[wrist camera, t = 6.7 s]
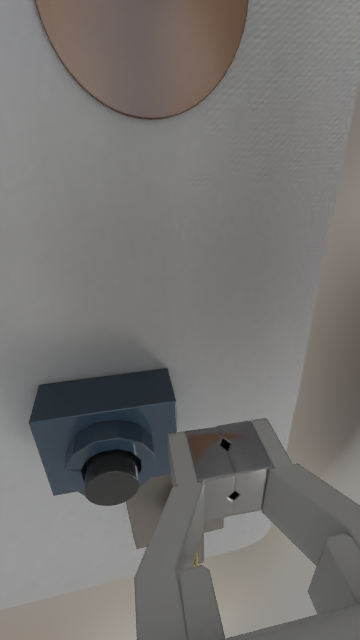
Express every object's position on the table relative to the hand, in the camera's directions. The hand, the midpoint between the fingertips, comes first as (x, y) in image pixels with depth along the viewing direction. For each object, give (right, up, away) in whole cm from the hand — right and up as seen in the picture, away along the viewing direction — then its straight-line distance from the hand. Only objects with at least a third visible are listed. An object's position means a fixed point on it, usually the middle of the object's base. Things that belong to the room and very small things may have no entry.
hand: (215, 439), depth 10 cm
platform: (-1, -18, +29) cm, 35 cm away
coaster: (-3, +20, +7) cm, 22 cm away
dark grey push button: (-6, -8, +16) cm, 19 cm away
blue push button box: (-8, -5, +21) cm, 22 cm away
